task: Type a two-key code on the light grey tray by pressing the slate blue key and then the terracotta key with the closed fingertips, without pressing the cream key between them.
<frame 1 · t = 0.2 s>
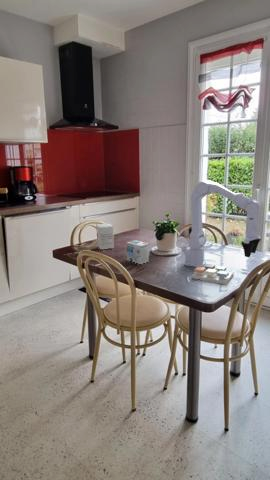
hand: (250, 254, 156), 10 cm above the table, tool pointing down, fingers open, 7 cm apart
light grey tray: (212, 276, 156), on the table
slate blue key: (223, 273, 150), point 3 cm above the table, slide at 0.0 cm
sage key: (220, 268, 156), point 3 cm above the table, slide at 0.0 cm
coffee cup: (194, 247, 204), on the table
cream key: (211, 271, 152), point 3 cm above the table, slide at 0.0 cm
light bulb box: (137, 262, 179), on the table
supplement box: (105, 248, 206), on the table
terracotta key: (200, 270, 155), point 3 cm above the table, slide at 0.0 cm
grey key: (209, 267, 159), point 3 cm above the table, slide at 0.0 cm
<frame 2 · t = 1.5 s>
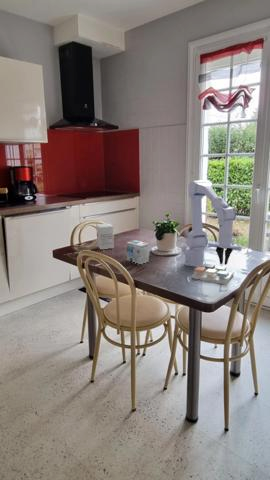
hand: (223, 263, 148), 8 cm above the table, tool pointing down, fingers closed
nothing on the table moved.
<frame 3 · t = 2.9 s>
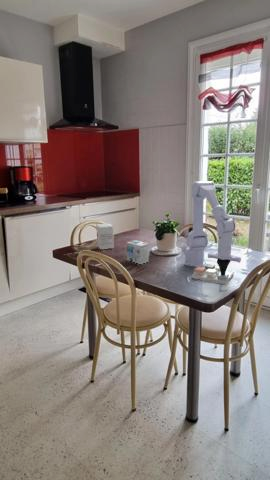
hand: (223, 274, 150), 3 cm above the table, tool pointing down, fingers closed, pressing on slate blue key
slate blue key: (222, 276, 150), point 2 cm above the table, slide at 1.1 cm, touching gripper
everything else where it was.
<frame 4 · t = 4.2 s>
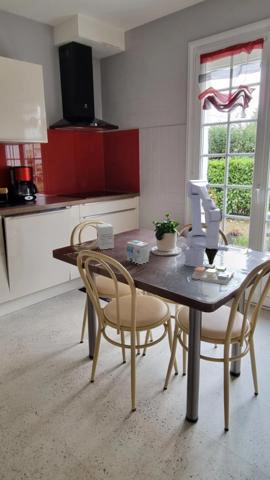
hand: (211, 263, 152), 7 cm above the table, tool pointing down, fingers closed
slate blue key: (222, 276, 150), point 2 cm above the table, slide at 1.2 cm
everything else where it was.
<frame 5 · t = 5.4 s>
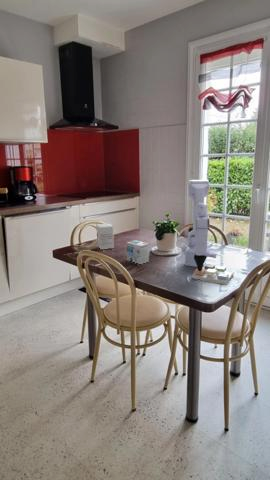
hand: (200, 270, 155), 3 cm above the table, tool pointing down, fingers closed, pressing on terracotta key
terracotta key: (199, 271, 155), point 3 cm above the table, slide at 0.8 cm, touching gripper
everything else where it was.
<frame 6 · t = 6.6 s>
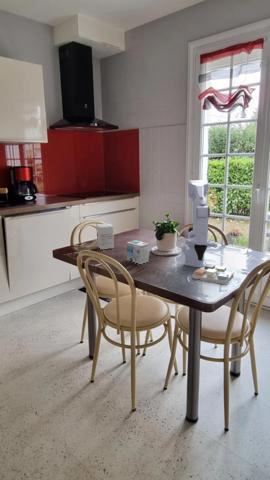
hand: (200, 260, 154), 8 cm above the table, tool pointing down, fingers closed
terracotta key: (199, 272, 155), point 2 cm above the table, slide at 1.2 cm
everything else where it was.
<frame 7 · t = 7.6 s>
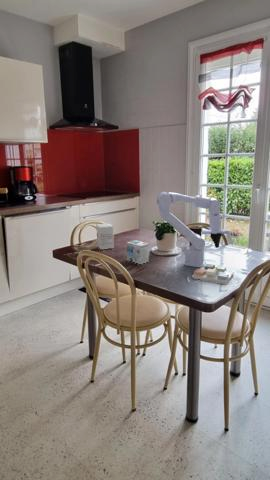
hand: (217, 247, 171), 9 cm above the table, tool pointing down, fingers closed
nothing on the table moved.
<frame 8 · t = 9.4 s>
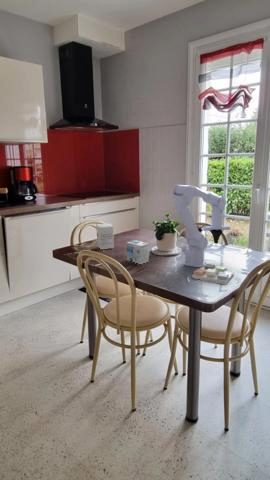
hand: (215, 243, 178), 9 cm above the table, tool pointing down, fingers closed
nothing on the table moved.
at the end: slate blue key slide at 1.2 cm; terracotta key slide at 1.2 cm; cream key slide at 0.0 cm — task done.
